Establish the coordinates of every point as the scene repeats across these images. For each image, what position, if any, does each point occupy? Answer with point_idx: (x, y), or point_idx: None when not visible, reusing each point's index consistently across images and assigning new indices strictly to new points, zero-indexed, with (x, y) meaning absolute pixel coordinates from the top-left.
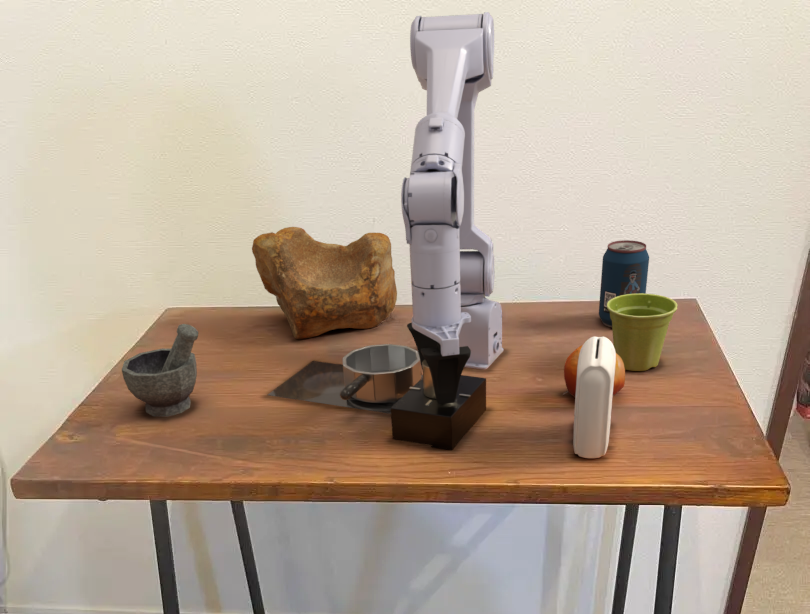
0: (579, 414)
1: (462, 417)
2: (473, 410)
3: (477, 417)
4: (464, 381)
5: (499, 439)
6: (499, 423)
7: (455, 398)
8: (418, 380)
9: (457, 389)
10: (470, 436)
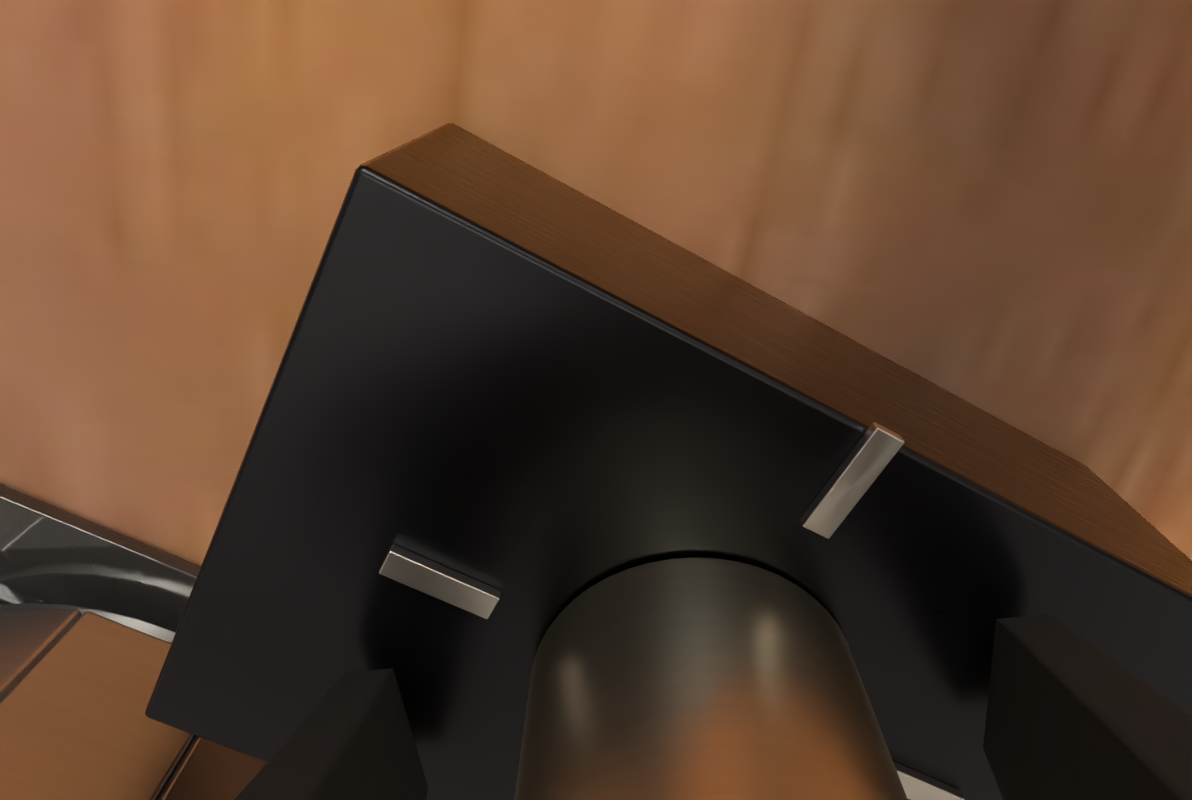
0: None
1: (993, 455)
2: (743, 309)
3: (649, 233)
4: (442, 437)
5: (1045, 85)
6: (737, 35)
7: (1079, 636)
8: (104, 675)
9: (1175, 706)
10: (907, 316)
